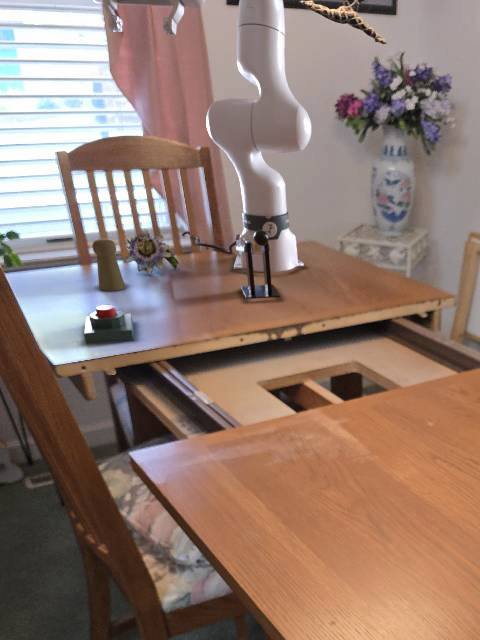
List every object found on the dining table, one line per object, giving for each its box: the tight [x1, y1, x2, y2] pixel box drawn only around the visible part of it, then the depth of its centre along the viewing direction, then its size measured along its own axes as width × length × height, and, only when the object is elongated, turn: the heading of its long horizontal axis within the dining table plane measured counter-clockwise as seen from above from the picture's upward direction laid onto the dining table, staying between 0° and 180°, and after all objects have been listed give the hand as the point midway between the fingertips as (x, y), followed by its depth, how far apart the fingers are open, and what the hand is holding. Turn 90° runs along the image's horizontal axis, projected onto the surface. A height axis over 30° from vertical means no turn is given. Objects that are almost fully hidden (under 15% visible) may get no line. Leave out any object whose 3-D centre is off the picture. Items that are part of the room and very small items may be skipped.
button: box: [95, 304, 116, 318], centre depth 144 cm, size 4×4×2 cm
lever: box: [251, 230, 269, 255], centre depth 160 cm, size 13×3×3 cm, turn 18°
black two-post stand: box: [240, 238, 281, 300], centre depth 167 cm, size 10×8×13 cm
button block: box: [83, 309, 135, 345], centre depth 145 cm, size 11×9×4 cm
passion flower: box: [123, 228, 179, 276], centre depth 184 cm, size 11×11×12 cm
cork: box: [92, 238, 126, 292], centre depth 169 cm, size 6×6×11 cm
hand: (142, 31), depth 117 cm, fingers open, 8 cm apart
